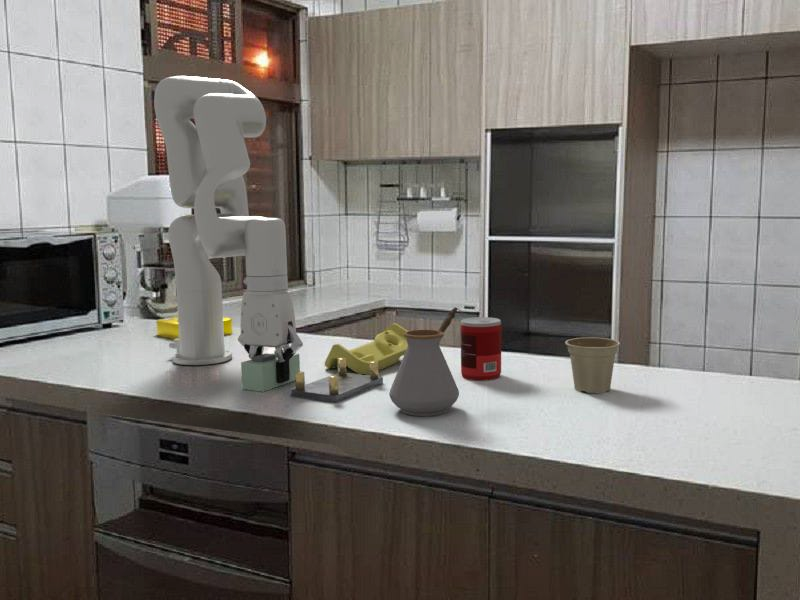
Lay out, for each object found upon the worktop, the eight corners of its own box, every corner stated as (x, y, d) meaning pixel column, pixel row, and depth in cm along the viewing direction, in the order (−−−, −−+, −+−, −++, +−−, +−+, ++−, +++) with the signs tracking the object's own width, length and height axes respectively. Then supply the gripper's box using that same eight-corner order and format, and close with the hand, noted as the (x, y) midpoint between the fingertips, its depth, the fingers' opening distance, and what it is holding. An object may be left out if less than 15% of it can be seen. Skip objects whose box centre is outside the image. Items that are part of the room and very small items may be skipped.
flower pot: (589, 399, 135) (589, 349, 134) (554, 387, 143) (554, 340, 142) (630, 391, 139) (631, 343, 138) (594, 381, 147) (595, 335, 146)
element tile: (235, 334, 206) (234, 316, 206) (184, 343, 196) (183, 324, 195) (204, 328, 217) (203, 311, 216) (154, 336, 206) (153, 318, 206)
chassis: (291, 396, 140) (290, 373, 139) (340, 378, 153) (340, 356, 153) (335, 402, 135) (335, 378, 135) (383, 383, 148) (382, 361, 148)
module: (242, 388, 146) (240, 357, 145) (279, 376, 155) (278, 346, 155) (263, 391, 143) (262, 359, 143) (300, 379, 153) (299, 348, 152)
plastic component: (366, 365, 154) (330, 339, 158) (356, 396, 157) (321, 369, 161) (424, 341, 169) (389, 318, 174) (414, 369, 172) (380, 346, 177)
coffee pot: (443, 422, 122) (442, 327, 120) (377, 415, 127) (375, 323, 125) (488, 390, 141) (487, 308, 139) (428, 385, 146) (427, 305, 144)
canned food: (506, 373, 155) (506, 318, 153) (493, 382, 148) (493, 324, 146) (469, 370, 158) (469, 316, 156) (455, 379, 151) (454, 322, 149)
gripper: (218, 284, 148) (223, 380, 150) (291, 288, 139) (295, 389, 142) (245, 280, 154) (249, 372, 157) (316, 284, 146) (319, 380, 148)
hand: (271, 379), depth 149 cm, fingers closed on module, 5 cm apart
